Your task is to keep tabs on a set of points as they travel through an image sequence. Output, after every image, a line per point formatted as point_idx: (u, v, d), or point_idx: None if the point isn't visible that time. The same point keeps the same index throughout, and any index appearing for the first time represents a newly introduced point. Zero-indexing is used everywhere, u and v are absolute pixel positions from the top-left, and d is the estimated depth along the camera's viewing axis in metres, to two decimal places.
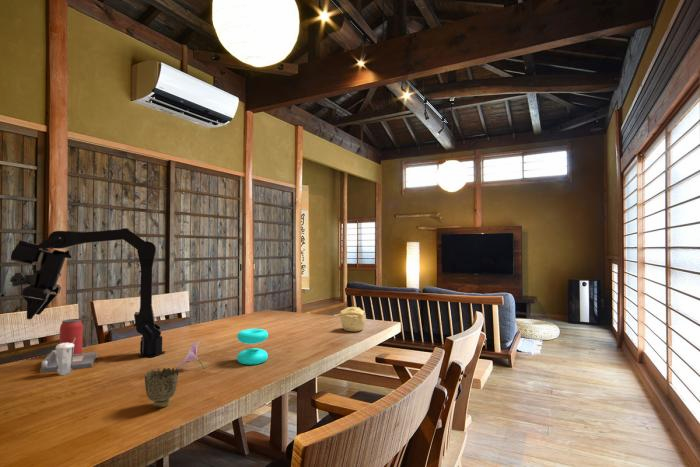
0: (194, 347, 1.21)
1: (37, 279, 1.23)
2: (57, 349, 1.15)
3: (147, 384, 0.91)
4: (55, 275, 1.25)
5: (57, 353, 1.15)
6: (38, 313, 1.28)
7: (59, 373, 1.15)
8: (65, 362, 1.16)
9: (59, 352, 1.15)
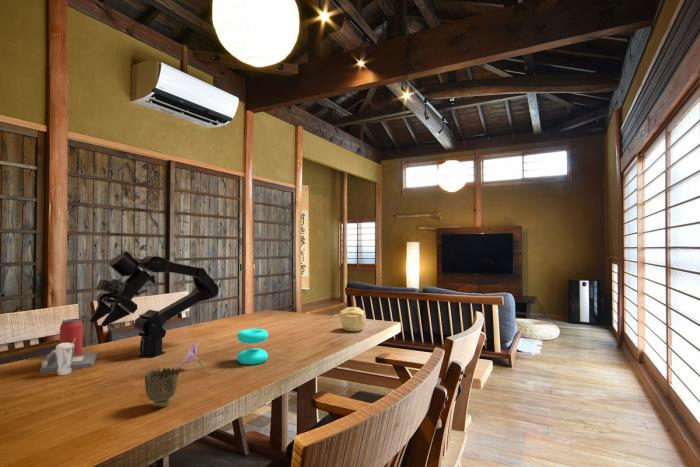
0: (194, 347, 1.21)
1: (122, 291, 1.29)
2: (57, 349, 1.15)
3: (147, 384, 0.91)
4: (137, 293, 1.32)
5: (57, 353, 1.15)
6: (92, 321, 1.27)
7: (59, 373, 1.15)
8: (65, 362, 1.16)
9: (59, 352, 1.15)
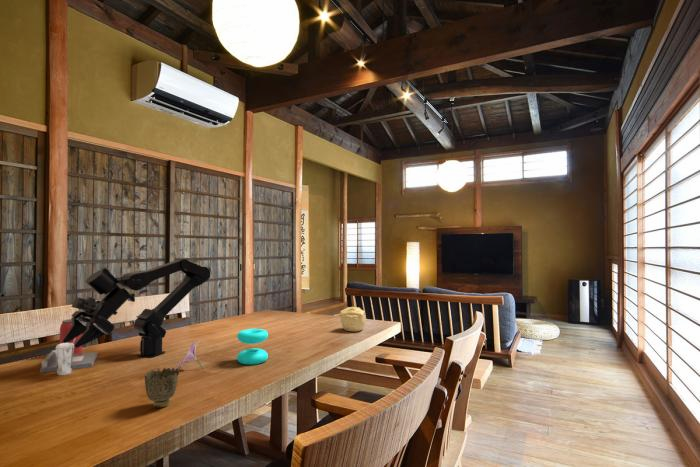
0: (193, 347, 1.21)
1: (99, 310, 1.23)
2: (57, 349, 1.15)
3: (147, 384, 0.91)
4: (115, 312, 1.26)
5: (57, 353, 1.15)
6: (65, 341, 1.21)
7: (59, 373, 1.15)
8: (65, 362, 1.16)
9: (59, 352, 1.15)
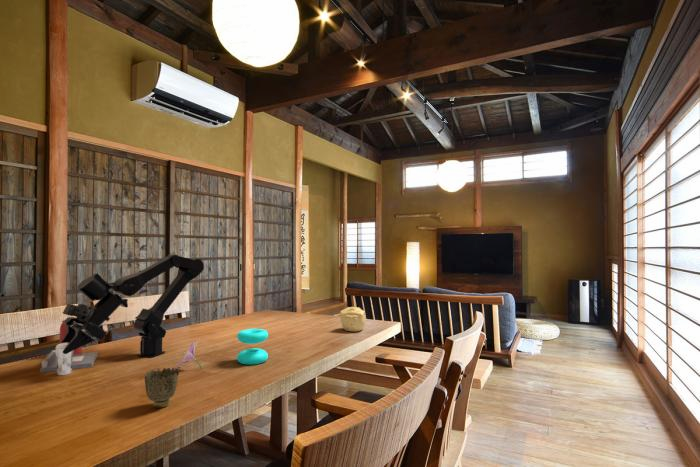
0: (192, 347, 1.21)
1: (91, 316, 1.21)
2: (57, 349, 1.15)
3: (147, 384, 0.91)
4: (107, 319, 1.25)
5: (57, 353, 1.15)
6: None
7: (59, 373, 1.15)
8: (65, 362, 1.16)
9: (59, 352, 1.15)
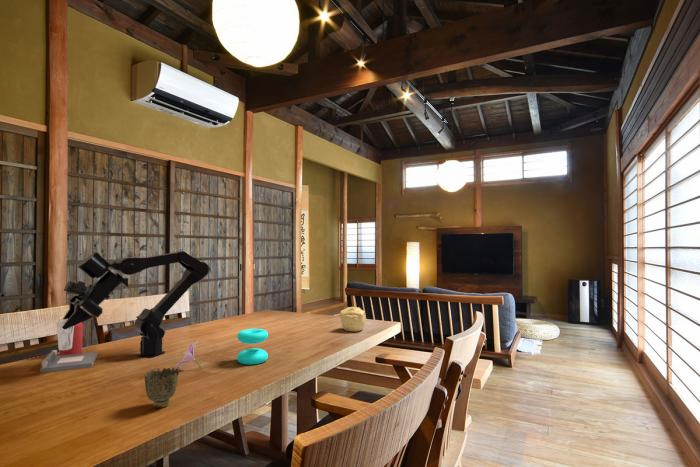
0: (191, 347, 1.21)
1: (90, 294, 1.23)
2: (57, 324, 1.18)
3: (147, 384, 0.91)
4: (107, 296, 1.26)
5: (57, 328, 1.18)
6: None
7: (60, 348, 1.18)
8: (65, 337, 1.19)
9: (59, 327, 1.18)
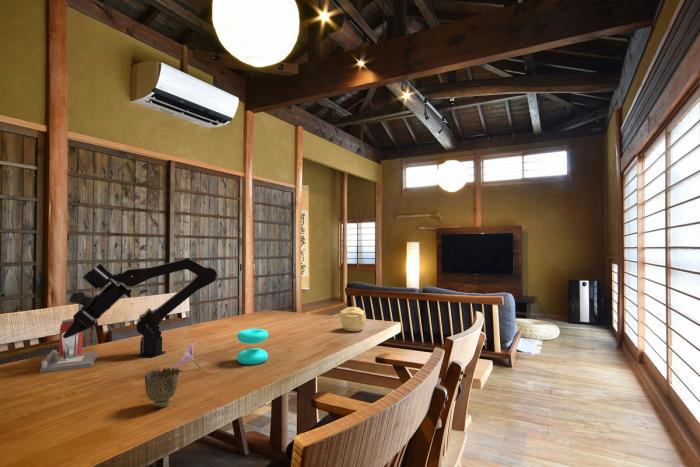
0: (190, 348, 1.21)
1: (92, 304, 1.29)
2: (62, 336, 1.26)
3: (147, 384, 0.91)
4: (108, 307, 1.30)
5: (62, 340, 1.26)
6: None
7: (64, 358, 1.26)
8: (67, 349, 1.26)
9: (62, 339, 1.25)
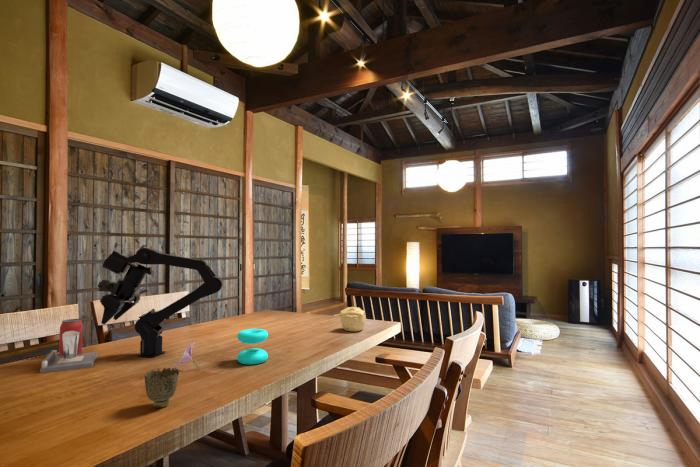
0: (189, 348, 1.20)
1: (118, 288, 1.35)
2: (62, 336, 1.26)
3: (147, 384, 0.91)
4: (133, 288, 1.35)
5: None
6: (115, 318, 1.40)
7: (64, 358, 1.26)
8: (68, 349, 1.26)
9: (63, 339, 1.25)
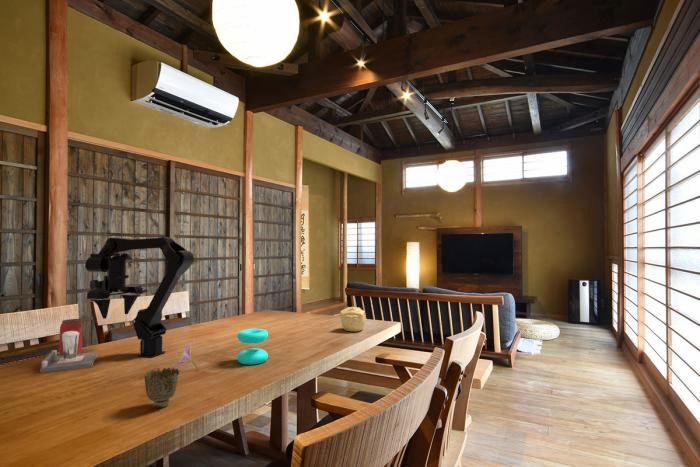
0: (188, 348, 1.20)
1: (107, 283, 1.39)
2: (62, 336, 1.26)
3: (147, 384, 0.91)
4: (116, 277, 1.38)
5: None
6: (126, 313, 1.45)
7: (64, 358, 1.26)
8: (68, 349, 1.26)
9: (63, 339, 1.25)
